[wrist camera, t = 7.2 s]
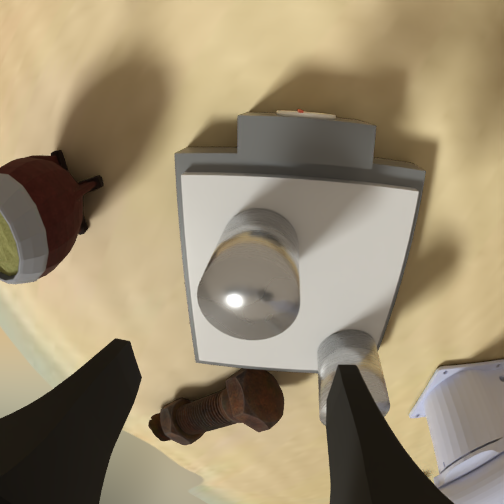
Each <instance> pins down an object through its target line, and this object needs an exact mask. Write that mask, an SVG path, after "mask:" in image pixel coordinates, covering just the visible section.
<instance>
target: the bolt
mask: <svg viewBox="0 0 504 504" xmlns="http://www.w3.org/2000/svg"><path fill="white" fill-rule="evenodd" d="M225 383H226V388H225V389H224V390H222V391H219V392H217V393H214V394H212V395H209V396H207V397H204V398H201V399H198V400H196V401H193V402H191V401H189V400H187V399H184V398H180V399H178V400H175V401H173V402H172V403H170V404H168V405H167V406H165V407H164V408H162V409H161V412H160V413H159V414H155V415H153V416H152V417H151V419H152V420H150V421H149V425H148V426H149V428H150V429H151V430H152V432H153V433H154V435H155V436H156V437H157V438H159V439H160V440H161V441H167V440H173V441H175V442H177V443H180V444H182V445H188V444H192V443H193V442H195V441H196V440H198V439H199V438H200V437H201V436H202V435H203V434H204V433H205V432H206V431H211V430H214V429H218V428H222V427H225V426H229V425H232V424H236V423H244V424H246V425H247V426H249V427H251V428H252V429H254V430H256V431H257V432H261V431H265V430H268V429H270V428H271V427H273V426H274V425H275V424H276V423H277V422H278V421H279V420H280V419H281V417H282V415H283V410H284V397H283V393H282V390H281V388H280V386H279V384H278V383H277V381H276V379H275V378H274V377H273V375H271V374H270V373H269V372H268V371H266V370H257V369H246V368H241V369H240V370H239V371H237V372H236V373H235V374H234V375H232V376H231V377H230V378H228V379H227V380H226V381H225Z"/></svg>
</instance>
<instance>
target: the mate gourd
mask: <svg viewBox="0 0 504 504" xmlns="http://www.w3.org/2000/svg"><path fill="white" fill-rule="evenodd" d="M102 186H103V180H102V177H101V176H95V177H92V178H90V179H87V180H84V181H81V182H78V183H77V182H76V181H75V180H74V178H73V177H72V176H71V174H70V173H69V172H68V169H67V166H66V163H65V159H64V156H63V153H62V151H61V150H59V151H54V152H52V153H51V156H29V157H25V158H20V159H16V160H13V161H11V162H9V163H7V164H5V165H4V166H2V167H1V168H0V280H1V281H4V282H6V283H9V284H21V283H28V282H34V281H36V280H37V279H39V278H41V277H43V276H46V275H47V274H48V273H50V272H51V271H52V270H54V269H55V268H56V267H57V265H58V264H59V263H60V262H61V261H62V260H63V259H64V258H65V257H66V256H67V255H68V253H69V252H70V251H71V249H72V247H73V245H74V243H75V241H76V238H77V235H78V234H80V235H81V234H84V233H85V232H86V230H87V229H88V227H87V224H86V221H85V219H84V216H83V195H85V194H86V193H87V192H90V191H93V190H96V189H98V188H101V187H102Z"/></svg>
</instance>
